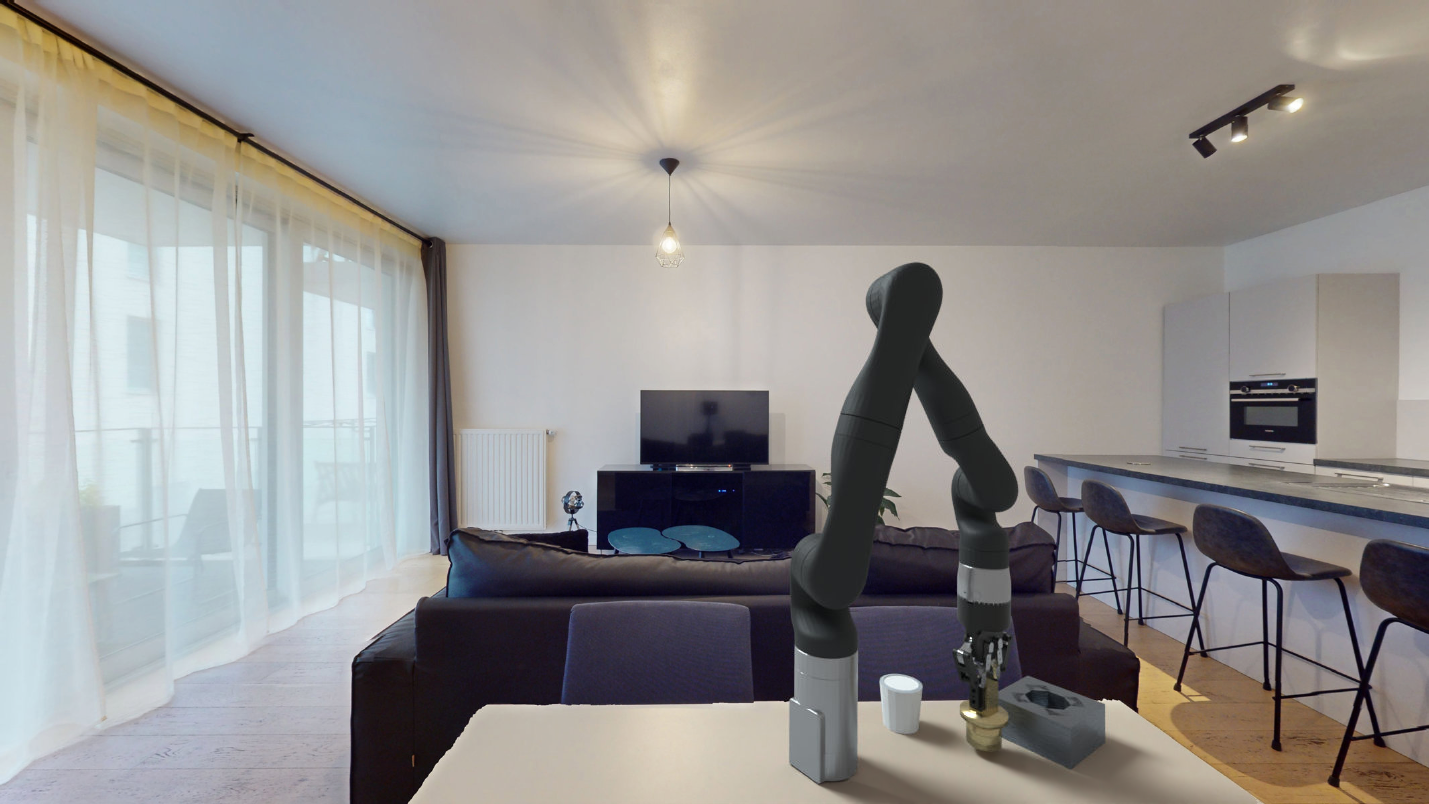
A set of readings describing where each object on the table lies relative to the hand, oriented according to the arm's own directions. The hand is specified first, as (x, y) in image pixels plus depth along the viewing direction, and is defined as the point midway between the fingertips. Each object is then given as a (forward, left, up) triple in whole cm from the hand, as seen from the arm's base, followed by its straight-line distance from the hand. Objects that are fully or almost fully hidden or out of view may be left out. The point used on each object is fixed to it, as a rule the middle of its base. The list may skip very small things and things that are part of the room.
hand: (983, 705), depth 90 cm
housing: (+12, -4, -7) cm, 14 cm away
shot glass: (-4, +12, -7) cm, 15 cm away
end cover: (0, 0, -6) cm, 6 cm away
